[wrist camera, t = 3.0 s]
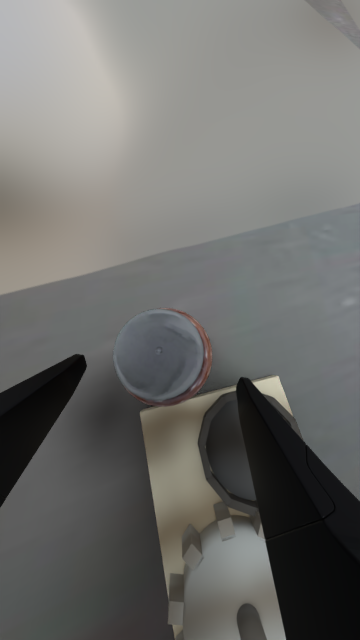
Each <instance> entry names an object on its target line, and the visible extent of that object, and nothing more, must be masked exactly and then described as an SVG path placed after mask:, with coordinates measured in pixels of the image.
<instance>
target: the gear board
mask: <svg viewBox="0 0 360 640" xmlns="http://www.w3.org/2000/svg"><path fill="white" fill-rule="evenodd" d="M251 382H252V383H253V384H254V385H255V386H256V387H257V388H258V390H259V391H260V392H261V393H262V394H263V395H264V396H265V398H266V399H267V400H268V401H269V402H270V403H271V404H272V406H273V407H274V408H275V409H276V410H277V411H278V412H279V414H280V415H281V416H282V417H283V418H284V419H285V420H286V422H287V423H288V424H289V425H290V426H291V427H292V428H293V430H294V431H295V432H296V433H297V434H298V435H299V436H300V438H301V439H302V440H303V438H302V436H301V433H300V430H299V428H298V425H297V422H296V420H295V419H294V417H293V415H292V412H291V409H290V407H289V404H288V401H287V399H286V396H285V393H284V390H283V388H282V385H281V382H280V380H279V377H278V376H274V375H271V376H268V377H264V378H260V379H256V380H252V381H251ZM236 386H237V385H233V386H230V387H226V388H222V389H218V390H214V391H211V392H207V393H203V394H199V395H195V396H193V397H191V398H190V399H188V400H187V401H185V402H183V403H180V404H177V405H174V406H168V407H157V406H153V407H150V408H146V409H142V410H141V412H140V417H141V423H142V430H143V436H144V443H145V449H146V456H147V462H148V469H149V475H150V482H151V488H152V495H153V501H154V508H155V514H156V521H157V527H158V534H159V540H160V547H161V553H162V560H163V566H164V573H165V579H166V586H167V592H168V599H169V603H168V624H172V625H173V631H174V638H175V640H286V637H285V632H284V627H283V623H282V618H281V613H280V609H279V604H278V599H277V595H276V590H275V585H274V581H273V576H272V571H271V567H270V562H269V557H268V552H267V548H266V543H265V538H264V533H263V528H262V524H261V519H260V514H259V510H258V505H257V500H256V496H255V491H254V486H253V482H252V477H251V472H250V468H249V463H248V458H247V454H246V449H245V444H244V440H243V435H242V430H241V426H240V421H239V414H238V405H237V395H236Z"/></svg>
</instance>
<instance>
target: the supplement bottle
mask: <svg viewBox="0 0 360 640" xmlns="http://www.w3.org/2000/svg"><path fill="white" fill-rule="evenodd" d="M113 362H114V366H115V370H116V373H117V376H118V377H119V380H120V381H121V383H122V384H123V386H124V388H125V389H126V390H127V391H128V392H129V393H130V394H131V395H132V396H134V397H135V398H136V399H138V400H139V401H141V402H143V403H146V404H148V405H152V406H157V407H168V406H174V405H177V404H180V403H183V402H185V401H187V400H188V399H190V398H191V397H193V396H194V395H195V394H196V393H197V392H198V391H199V390H200V389H201V388H202V386H203V385H204V383H205V382H206V380H207V378H208V376H209V373H210V369H211V365H212V348H211V344H210V340H209V338H208V335H207V333H206V332H205V330H204V328H203V327H202V326H201V325H200V323H199V322H198V321H196V320H195V319H194V318H193V317H192V316H190V315H188V314H187V313H185V312H182V311H180V310H176V309H171V308H159V309H152V310H147V311H145V312H142V313H139V314H138V315H136V316H134V317H133V318H132V319H131V320H129V321H128V322H127V323H126V324H125V325H124V327H123V328H122V329H121V331H120V333H119V334H118V336H117V339H116V341H115V346H114V351H113Z"/></svg>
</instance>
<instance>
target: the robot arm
mask: <svg viewBox="0 0 360 640" xmlns="http://www.w3.org/2000/svg"><path fill="white" fill-rule="evenodd" d="M86 367H87V364H86V361H85V357H84V355H80V354H75V355H73V356H71V357H69V358H67V359H65V360H63V361H61V362H59V363H58V364H56V365H54V366H52V367H50V368H48V369H46V370H44V371H42V372H40V373H38V374H36V375H34V376H32V377H30V378H29V379H27V380H25V381H23V382H21V383H19V384H17V385H15V386H13V387H11V388H9V389H7V390H5V391H3V392H1V393H0V507H1V506H2V504H3V503H4V501H5V499H6V498H7V496H8V495H9V493H10V491H11V490H12V488H13V487H14V485H15V484H16V482H17V481H18V479H19V477H20V476H21V474H22V473H23V471H24V470H25V468H26V467H27V465H28V463H29V462H30V460H31V459H32V457H33V456H34V454H35V453H36V451H37V449H38V448H39V446H40V445H41V443H42V442H43V440H44V439H45V437H46V435H47V434H48V432H49V431H50V429H51V428H52V426H53V425H54V423H55V421H56V420H57V418H58V417H59V415H60V414H61V412H62V411H63V409H64V408H65V406H66V404H67V403H68V401H69V400H70V398H71V397H72V395H73V393H74V391H75V389H76V388H77V386H78V384H79V382H80V380H81V378H82V376H83V374H84V372H85V370H86ZM236 395H237V405H238V414H239V421H240V426H241V430H242V435H243V440H244V444H245V449H246V454H247V458H248V463H249V468H250V472H251V477H252V482H253V486H254V491H255V496H256V500H257V505H258V510H259V514H260V519H261V524H262V528H263V533H264V538H265V543H266V548H267V552H268V557H269V562H270V567H271V571H272V576H273V581H274V585H275V590H276V595H277V599H278V604H279V609H280V613H281V618H282V623H283V627H284V632H285V637H286V640H360V501H359V500H358V499H357V498H356V497H355V496H354V495H353V494H352V493H351V492H350V491H349V490H348V489H347V488H346V487H345V486H344V485H343V484H342V483H341V482H340V481H339V480H338V478H337V477H336V476H335V475H334V474H333V473H332V472H331V471H330V470H329V469H328V468H327V467H326V466H325V465H324V463H323V462H322V461H321V460H320V459H319V458H318V457H317V456H316V455H315V453H314V452H313V451H312V450H311V449H310V448H309V447H308V445H306V444H305V442H304V441H303V440H302V439H301V438H300V436H299V435H298V434H297V433H296V432H295V431H294V430H293V428H292V427H291V426H290V425H289V424H288V423H287V422H286V420H285V419H284V418H283V417H282V416H281V415H280V414H279V412H278V411H277V410H276V409H275V408H274V407H273V406H272V404H271V403H270V402H269V401H268V400H267V399H266V398H265V396H264V395H263V394H262V393H261V392H260V391H259V390H258V388H257V387H256V386H255V385H254V384H253V383H252V382H251V380H250V379H248V378H244V377H241V378H240V379H239V381H238V384H237V386H236Z"/></svg>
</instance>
